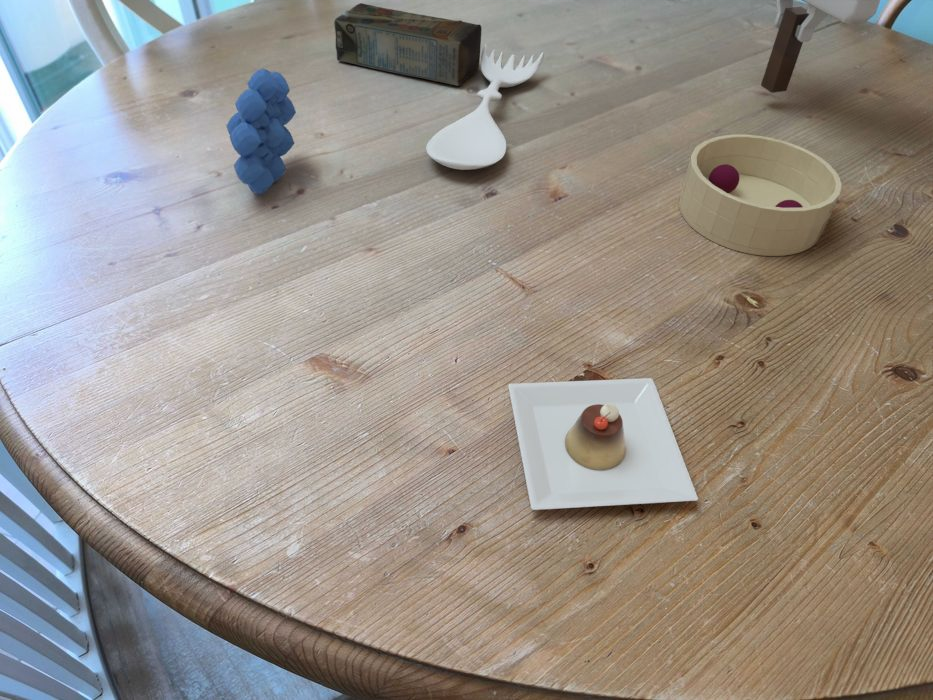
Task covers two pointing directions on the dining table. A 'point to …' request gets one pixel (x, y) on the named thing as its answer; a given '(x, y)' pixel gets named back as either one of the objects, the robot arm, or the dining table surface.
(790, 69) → the stick
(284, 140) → the grapes
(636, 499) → the dessert
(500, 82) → the spoon
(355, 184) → the dining table surface
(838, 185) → the bowl
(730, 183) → the berry
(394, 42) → the beverage carton
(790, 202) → the berry
